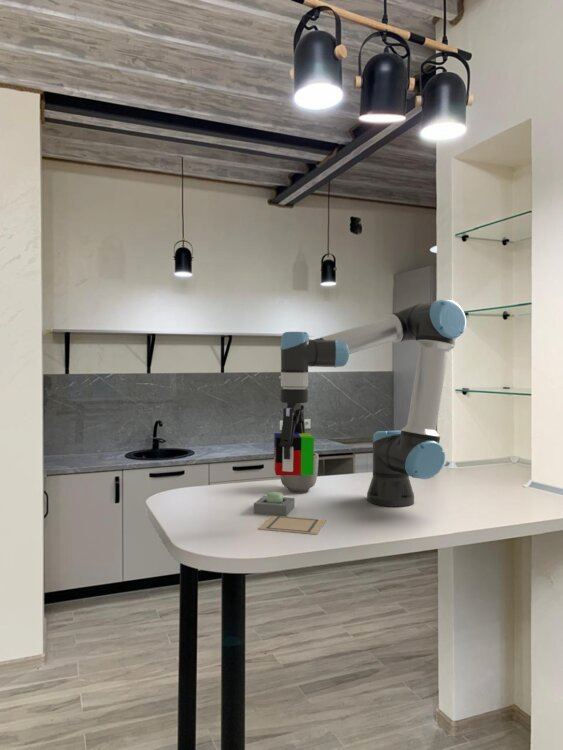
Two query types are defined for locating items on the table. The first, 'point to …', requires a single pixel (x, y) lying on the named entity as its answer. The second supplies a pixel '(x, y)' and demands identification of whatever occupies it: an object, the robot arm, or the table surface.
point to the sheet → (293, 524)
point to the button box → (274, 507)
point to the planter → (301, 479)
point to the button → (274, 497)
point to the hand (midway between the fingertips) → (293, 467)
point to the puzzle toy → (296, 454)
